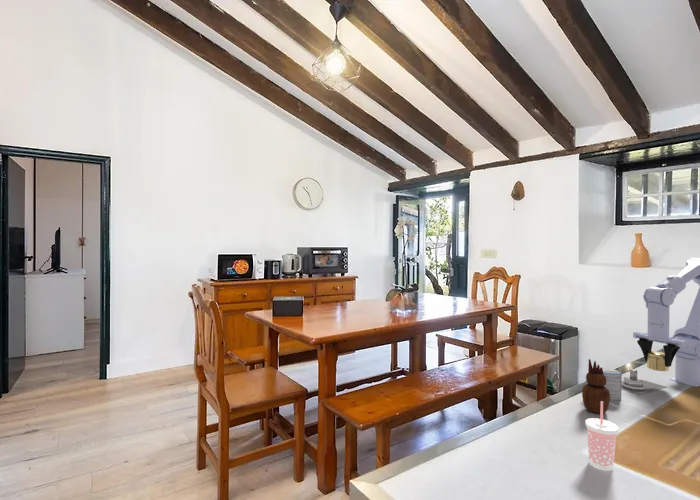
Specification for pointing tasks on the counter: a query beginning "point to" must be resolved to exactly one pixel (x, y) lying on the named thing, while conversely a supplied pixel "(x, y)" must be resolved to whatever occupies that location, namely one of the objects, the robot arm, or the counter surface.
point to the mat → (650, 388)
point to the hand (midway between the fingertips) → (657, 363)
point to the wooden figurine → (595, 390)
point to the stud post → (633, 382)
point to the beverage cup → (601, 442)
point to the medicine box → (613, 383)
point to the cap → (656, 361)
